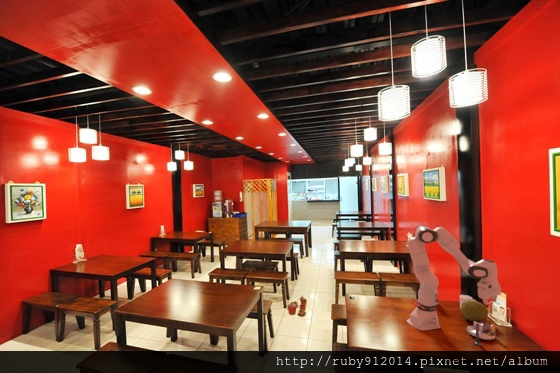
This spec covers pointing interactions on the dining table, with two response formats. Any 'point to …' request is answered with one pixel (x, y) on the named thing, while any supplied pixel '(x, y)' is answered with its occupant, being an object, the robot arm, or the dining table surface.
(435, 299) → the milk bottle
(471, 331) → the turntable
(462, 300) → the mug
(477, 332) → the dial stand
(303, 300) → the toy tea set
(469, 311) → the fruit
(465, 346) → the dining table surface
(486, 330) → the grey rounded lump
